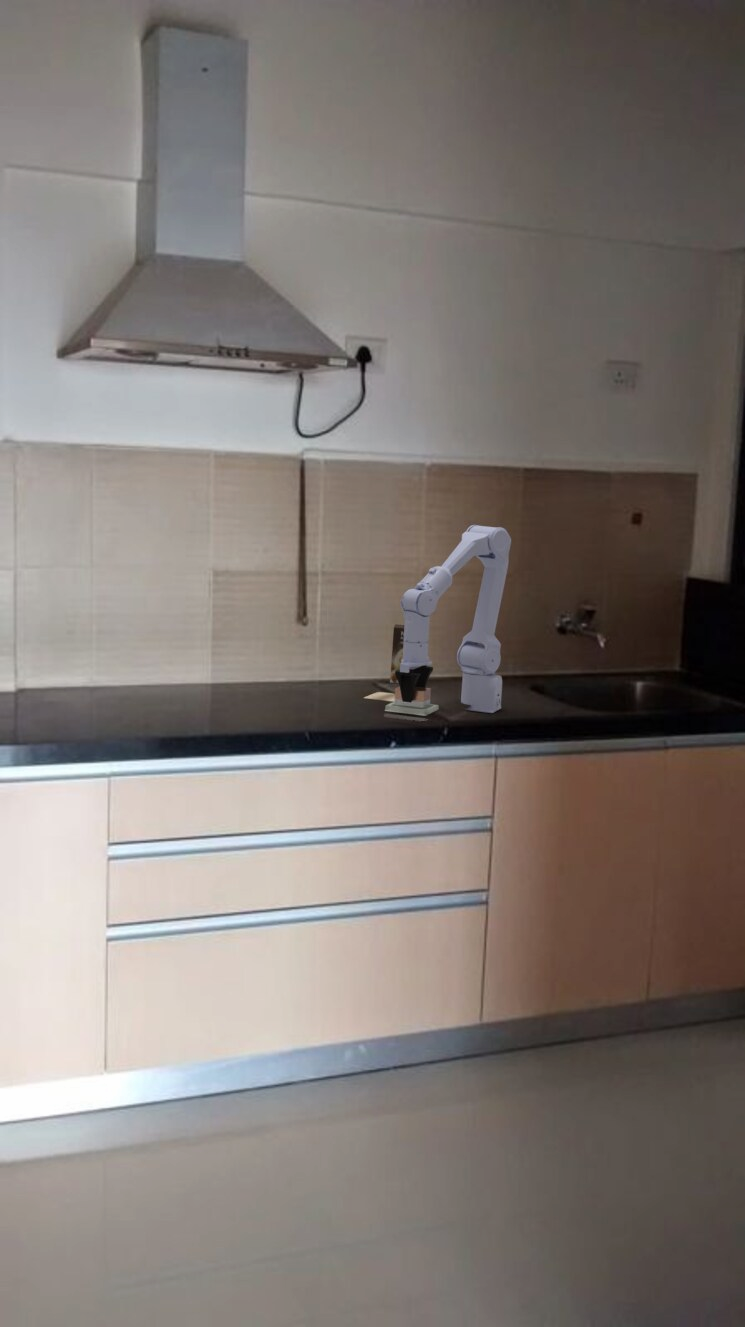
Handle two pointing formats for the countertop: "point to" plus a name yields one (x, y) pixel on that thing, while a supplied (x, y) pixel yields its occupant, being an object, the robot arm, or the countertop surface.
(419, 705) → the housing
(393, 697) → the stand
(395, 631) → the coffee box
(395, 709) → the stand
